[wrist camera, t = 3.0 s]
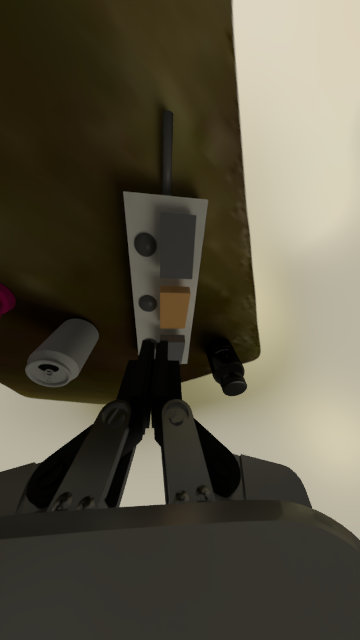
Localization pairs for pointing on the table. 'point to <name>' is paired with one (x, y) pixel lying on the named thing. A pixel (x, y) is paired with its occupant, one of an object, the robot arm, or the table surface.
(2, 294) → the pepper mill
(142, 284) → the power strip
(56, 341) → the can
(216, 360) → the supplement bottle
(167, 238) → the block
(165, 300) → the rocker
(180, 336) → the block
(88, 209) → the table surface
